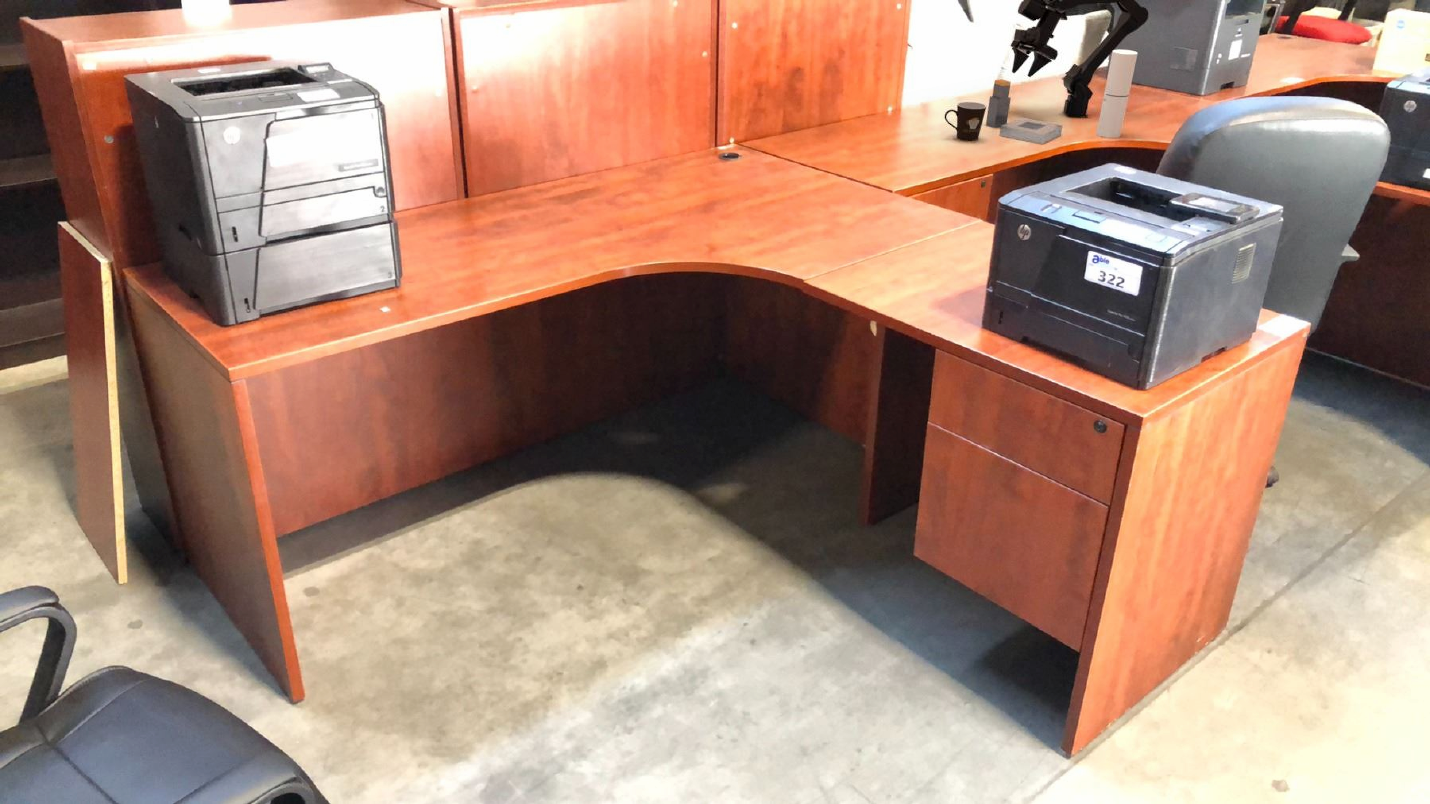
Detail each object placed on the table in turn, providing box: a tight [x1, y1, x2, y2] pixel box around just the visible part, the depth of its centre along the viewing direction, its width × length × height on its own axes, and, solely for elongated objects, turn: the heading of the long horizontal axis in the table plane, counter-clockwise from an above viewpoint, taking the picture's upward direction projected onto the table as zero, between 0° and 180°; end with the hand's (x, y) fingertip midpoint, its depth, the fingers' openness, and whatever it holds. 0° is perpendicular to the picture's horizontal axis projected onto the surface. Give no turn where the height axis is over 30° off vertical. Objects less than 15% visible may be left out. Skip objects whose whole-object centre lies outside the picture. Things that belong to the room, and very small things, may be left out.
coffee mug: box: [944, 101, 987, 142], centre depth 316 cm, size 12×9×10 cm
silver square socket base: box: [999, 117, 1064, 145], centre depth 322 cm, size 14×14×3 cm
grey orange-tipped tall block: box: [985, 78, 1012, 129], centre depth 329 cm, size 5×4×14 cm
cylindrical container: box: [1096, 49, 1138, 139], centre depth 319 cm, size 7×7×25 cm
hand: (1020, 74), depth 335 cm, fingers open, 9 cm apart
